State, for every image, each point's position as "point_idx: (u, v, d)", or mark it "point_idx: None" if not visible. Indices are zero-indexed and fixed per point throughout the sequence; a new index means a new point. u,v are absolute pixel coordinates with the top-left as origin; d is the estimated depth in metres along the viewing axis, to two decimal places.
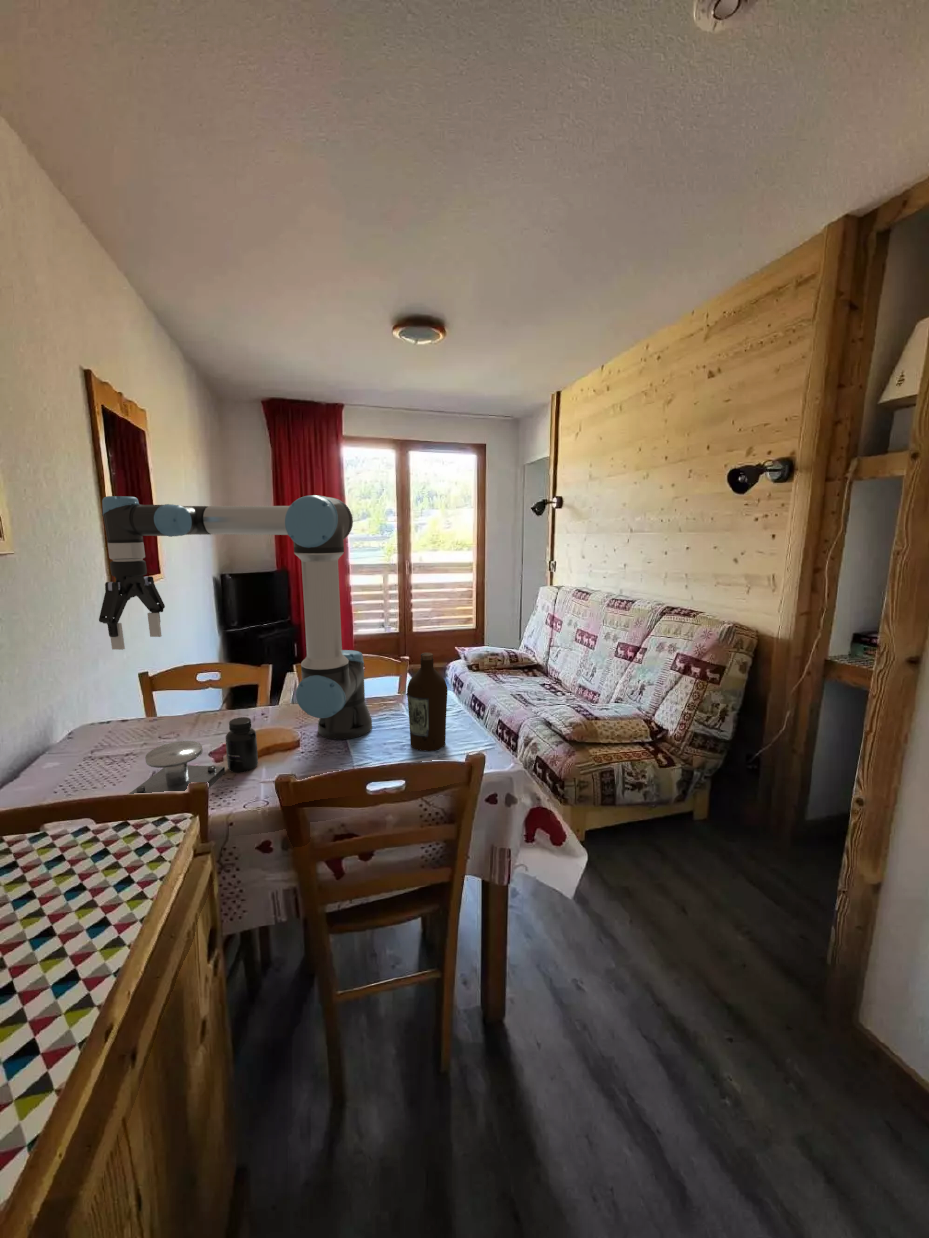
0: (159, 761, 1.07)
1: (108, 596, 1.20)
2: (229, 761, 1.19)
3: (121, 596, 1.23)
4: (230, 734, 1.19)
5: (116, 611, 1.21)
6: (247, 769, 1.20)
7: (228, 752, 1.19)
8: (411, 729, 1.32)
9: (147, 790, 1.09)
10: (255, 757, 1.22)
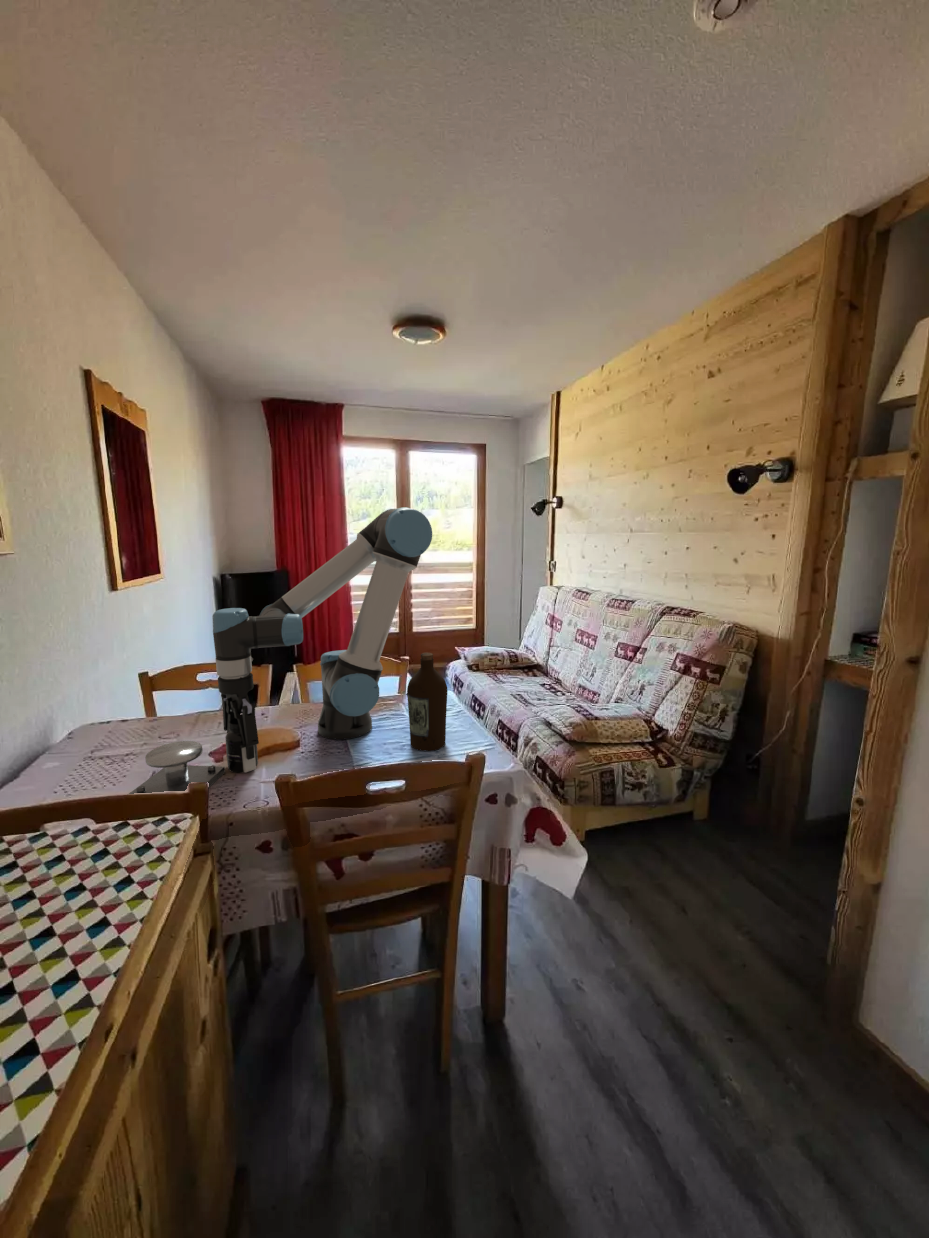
0: (159, 761, 1.07)
1: None
2: (229, 761, 1.19)
3: None
4: (230, 734, 1.19)
5: None
6: None
7: (228, 752, 1.19)
8: (411, 729, 1.32)
9: (147, 790, 1.09)
10: (255, 757, 1.22)
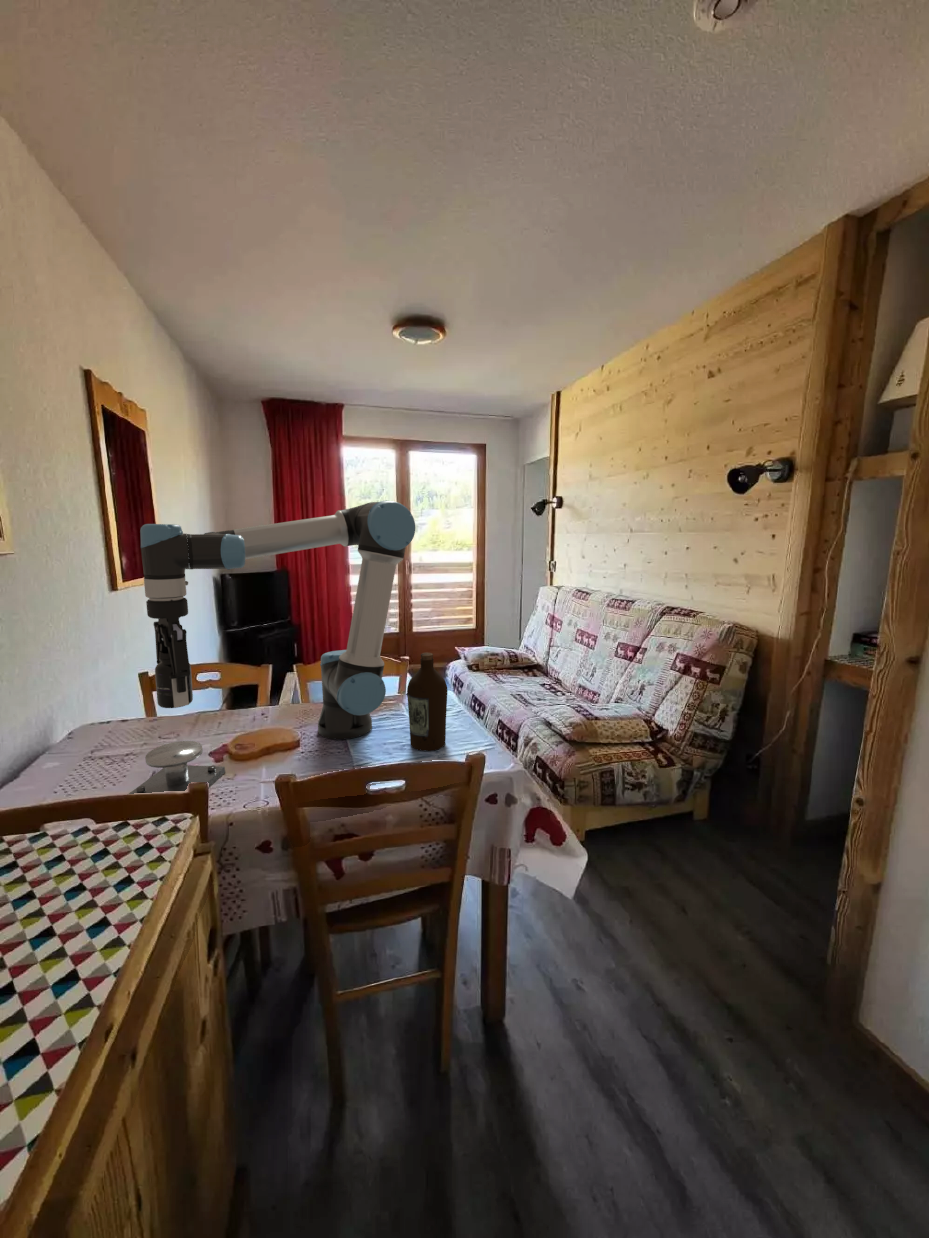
0: (159, 761, 1.07)
1: None
2: (158, 695, 1.07)
3: None
4: (160, 664, 1.07)
5: None
6: None
7: (157, 684, 1.07)
8: (411, 729, 1.32)
9: (147, 790, 1.09)
10: (189, 693, 1.10)
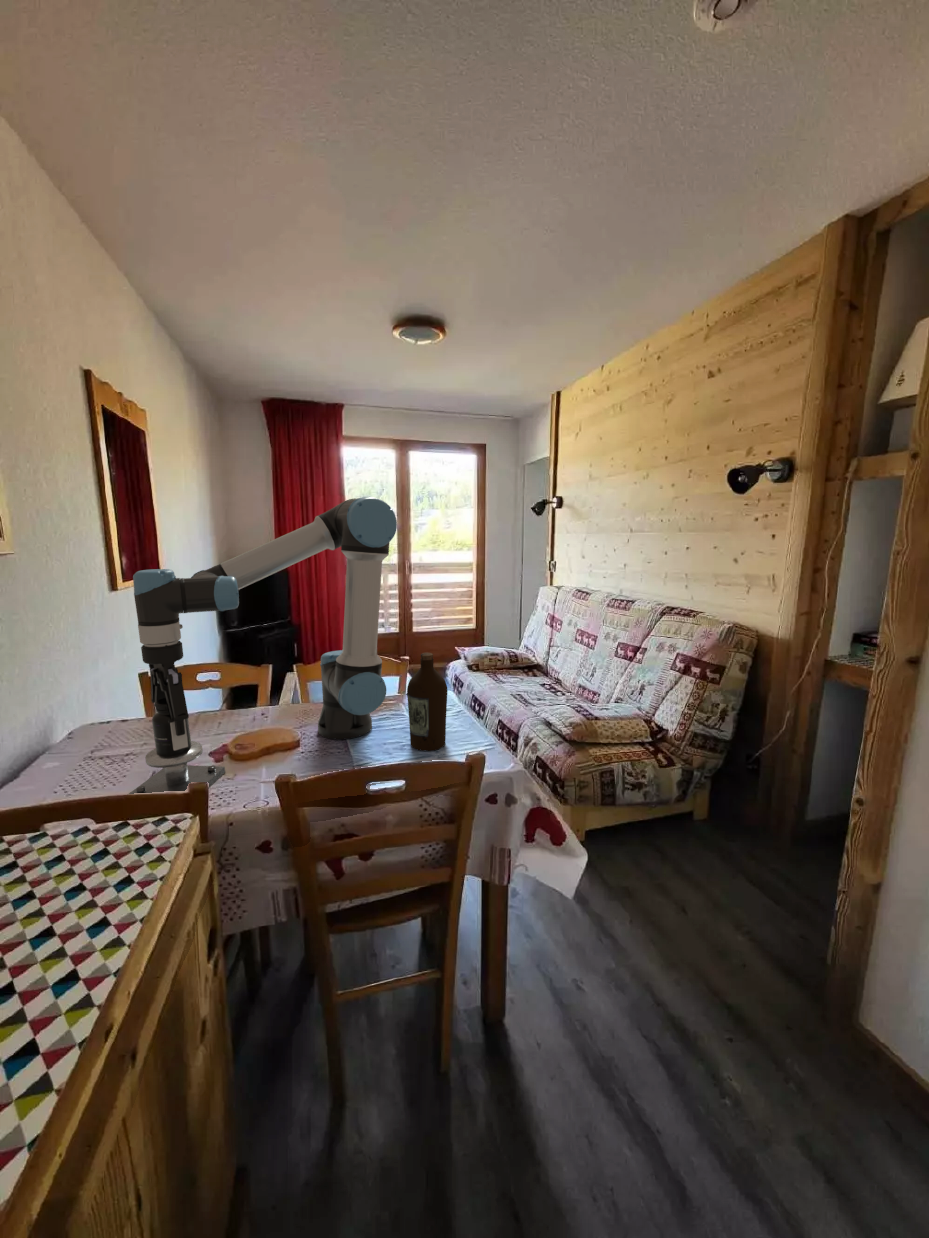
0: (159, 761, 1.07)
1: None
2: (156, 745, 1.08)
3: None
4: (156, 715, 1.08)
5: None
6: (177, 753, 1.09)
7: (155, 735, 1.08)
8: (411, 729, 1.32)
9: (147, 790, 1.09)
10: None
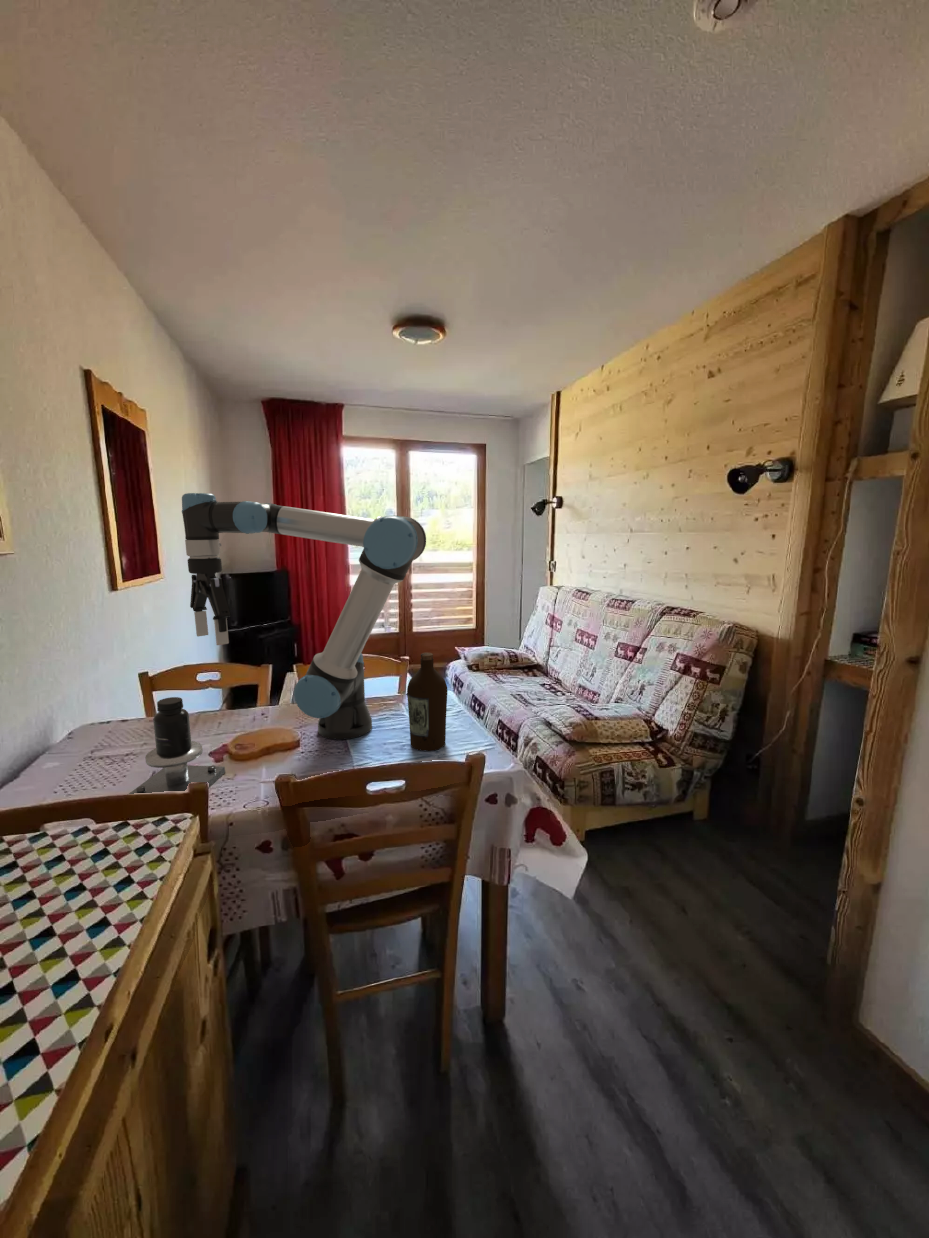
0: (159, 761, 1.07)
1: None
2: (157, 745, 1.08)
3: None
4: (158, 715, 1.08)
5: None
6: (177, 754, 1.09)
7: (155, 735, 1.08)
8: (411, 729, 1.32)
9: (147, 790, 1.09)
10: (187, 741, 1.11)
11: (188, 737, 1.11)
